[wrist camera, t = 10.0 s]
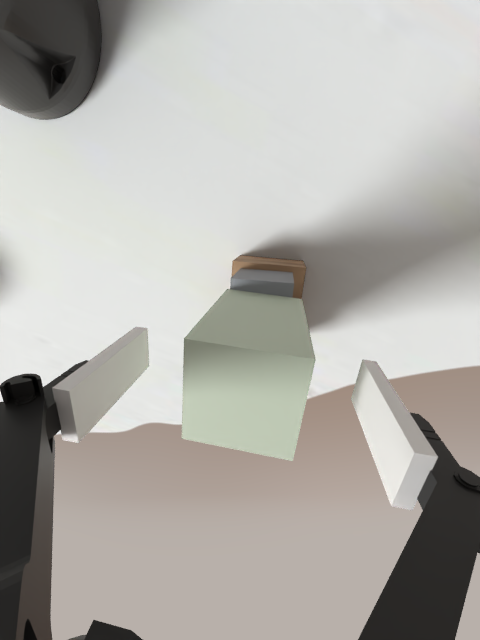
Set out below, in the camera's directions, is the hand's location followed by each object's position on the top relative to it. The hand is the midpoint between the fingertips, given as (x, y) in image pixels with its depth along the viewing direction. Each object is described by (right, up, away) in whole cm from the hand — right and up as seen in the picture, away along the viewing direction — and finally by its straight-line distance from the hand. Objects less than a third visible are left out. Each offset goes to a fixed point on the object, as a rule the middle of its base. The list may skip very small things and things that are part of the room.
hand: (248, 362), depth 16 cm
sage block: (+1, +2, +6) cm, 6 cm away
